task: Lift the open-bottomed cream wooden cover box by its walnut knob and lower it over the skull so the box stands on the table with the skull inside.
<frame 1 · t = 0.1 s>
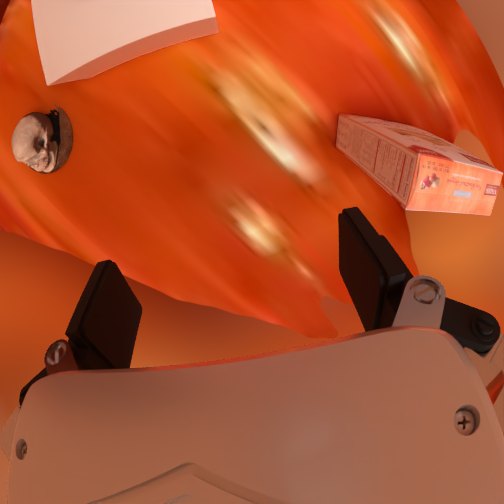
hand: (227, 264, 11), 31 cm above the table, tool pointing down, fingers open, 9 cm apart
skull: (46, 137, 33), on the table
cracker box: (375, 133, 38), on the table
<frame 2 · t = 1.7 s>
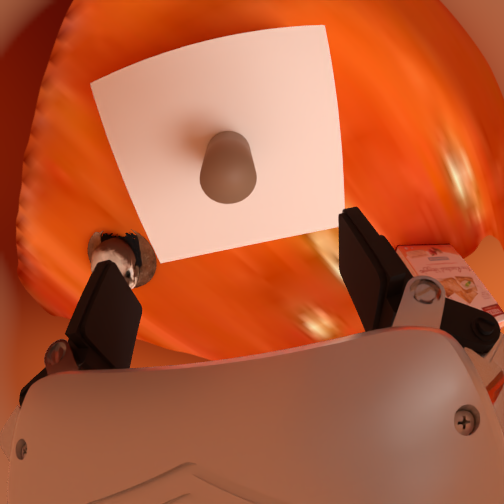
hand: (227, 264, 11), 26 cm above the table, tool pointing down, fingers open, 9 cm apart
skull: (121, 256, 42), on the table
cover: (228, 125, 31), on the table
cracker box: (420, 254, 47), on the table
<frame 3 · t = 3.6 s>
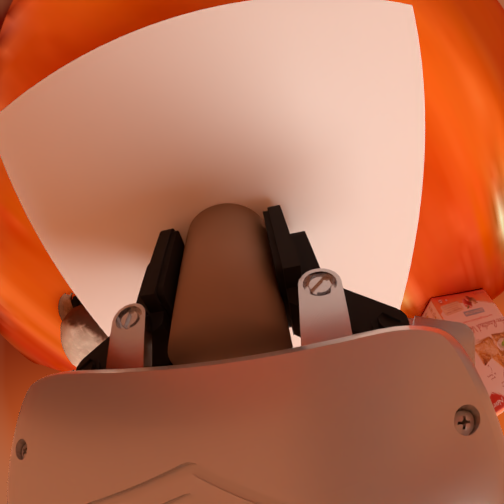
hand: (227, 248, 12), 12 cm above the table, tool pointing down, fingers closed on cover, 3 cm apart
skull: (98, 319, 33), on the table
cover: (227, 159, 22), on the table, touching gripper
cracker box: (452, 302, 37), on the table
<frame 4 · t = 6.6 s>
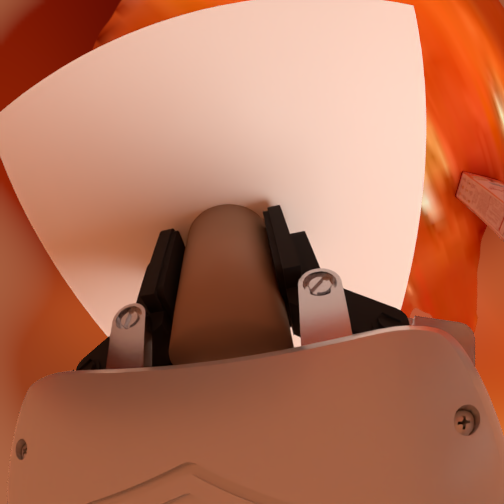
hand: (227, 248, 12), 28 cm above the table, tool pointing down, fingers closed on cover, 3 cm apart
cover: (228, 159, 22), point 16 cm above the table, touching gripper
cracker box: (477, 186, 42), on the table
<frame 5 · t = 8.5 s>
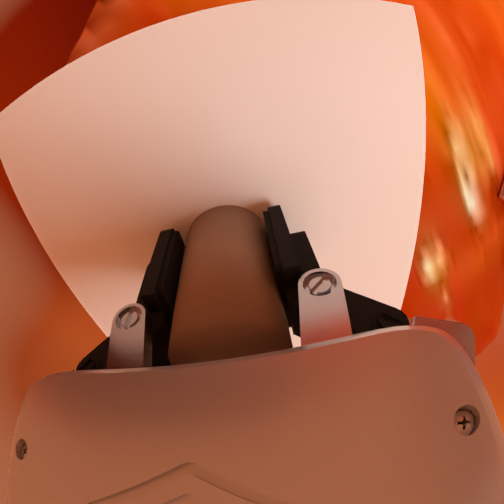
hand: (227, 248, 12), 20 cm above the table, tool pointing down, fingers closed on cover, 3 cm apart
cover: (227, 160, 22), point 8 cm above the table, touching gripper
when the fingers open (14 cm above the table, at t = 10.0 s): cover drops 1 cm, on the table.
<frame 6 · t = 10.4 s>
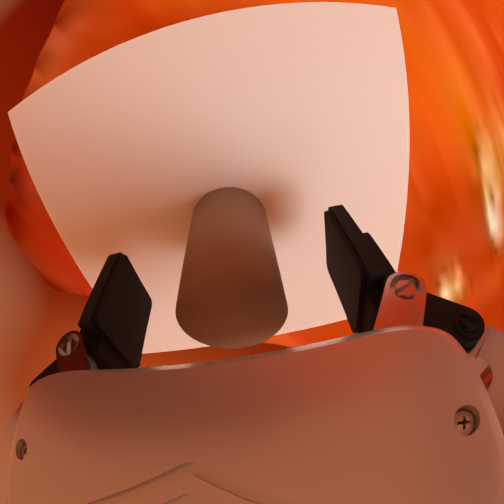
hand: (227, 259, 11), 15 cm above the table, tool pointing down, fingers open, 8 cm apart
cover: (228, 153, 23), on the table
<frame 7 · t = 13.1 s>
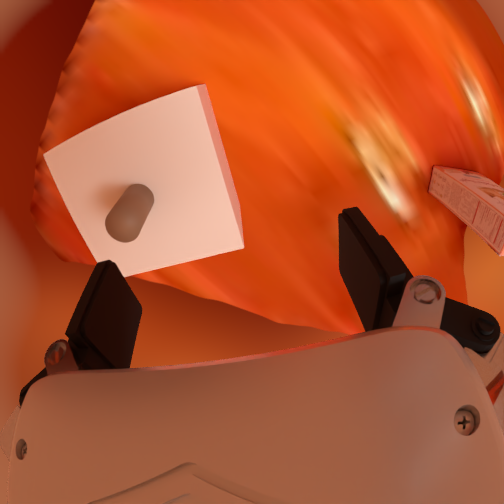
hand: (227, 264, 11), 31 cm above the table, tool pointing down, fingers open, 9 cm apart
cover: (160, 166, 38), on the table
cracker box: (453, 179, 43), on the table
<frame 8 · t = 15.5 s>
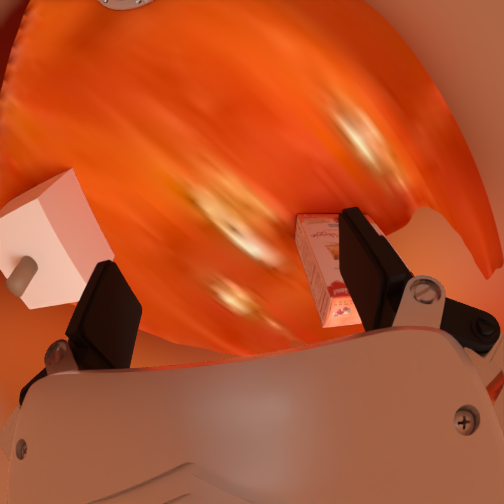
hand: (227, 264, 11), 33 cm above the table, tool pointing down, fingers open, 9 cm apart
cover: (57, 227, 45), on the table
cracker box: (331, 224, 50), on the table
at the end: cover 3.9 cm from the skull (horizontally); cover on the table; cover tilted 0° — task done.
